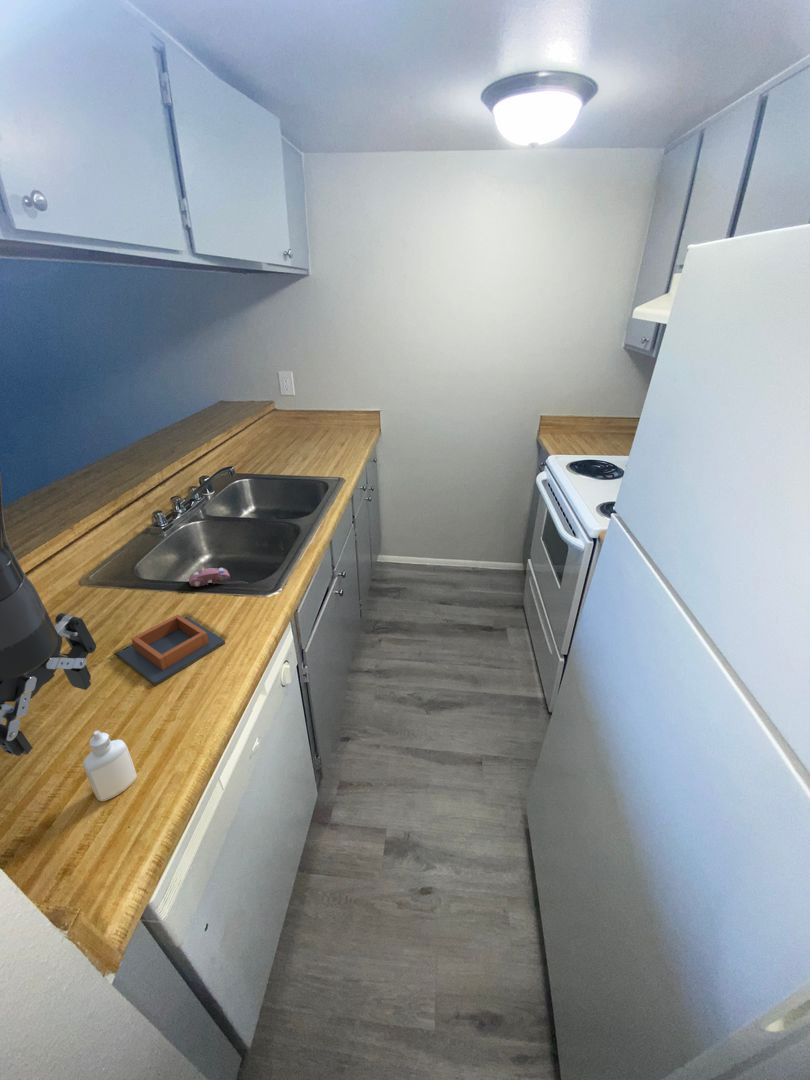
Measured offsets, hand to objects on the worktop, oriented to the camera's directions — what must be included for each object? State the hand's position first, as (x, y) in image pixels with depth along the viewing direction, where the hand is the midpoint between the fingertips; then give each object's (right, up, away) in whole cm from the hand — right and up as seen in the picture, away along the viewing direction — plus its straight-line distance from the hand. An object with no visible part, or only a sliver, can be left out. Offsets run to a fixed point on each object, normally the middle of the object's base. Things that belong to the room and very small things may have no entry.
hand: (53, 716), depth 55 cm
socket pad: (-9, -3, +46) cm, 47 cm away
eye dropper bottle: (-4, -18, +18) cm, 26 cm away
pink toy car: (-10, +8, +68) cm, 69 cm away
